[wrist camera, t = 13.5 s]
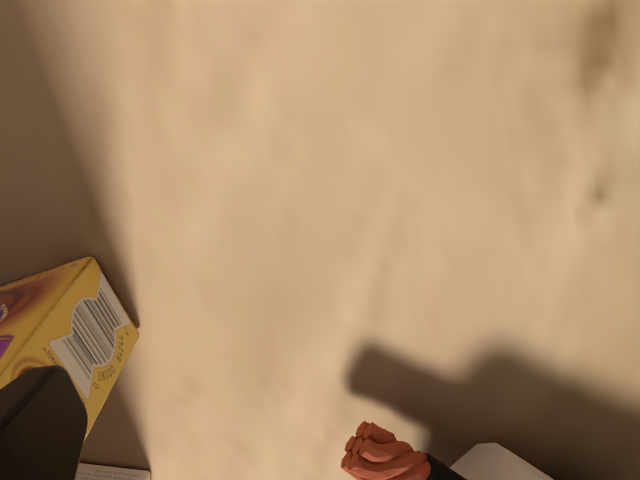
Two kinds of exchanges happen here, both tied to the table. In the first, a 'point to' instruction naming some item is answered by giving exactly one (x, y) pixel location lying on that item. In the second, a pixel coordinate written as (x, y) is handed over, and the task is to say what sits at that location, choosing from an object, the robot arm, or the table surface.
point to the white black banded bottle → (428, 461)
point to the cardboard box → (109, 473)
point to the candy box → (66, 329)
